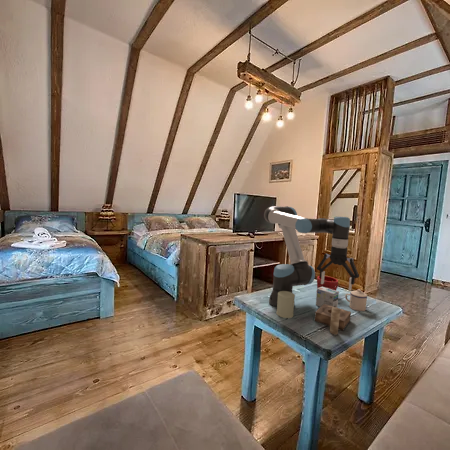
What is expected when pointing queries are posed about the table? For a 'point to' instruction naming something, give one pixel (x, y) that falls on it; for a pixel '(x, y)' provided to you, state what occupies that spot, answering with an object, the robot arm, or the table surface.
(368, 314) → the table surface
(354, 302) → the teacup with lid
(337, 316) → the dowel pin
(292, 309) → the can
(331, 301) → the light bulb box
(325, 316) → the bore block
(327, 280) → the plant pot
